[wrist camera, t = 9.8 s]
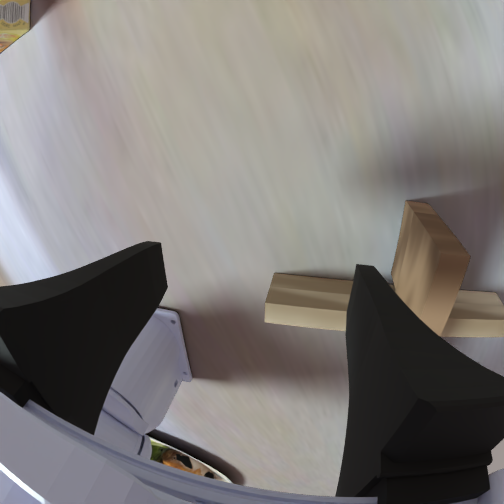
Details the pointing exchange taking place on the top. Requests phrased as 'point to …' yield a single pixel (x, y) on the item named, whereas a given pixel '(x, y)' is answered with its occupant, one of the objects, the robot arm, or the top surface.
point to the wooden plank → (428, 265)
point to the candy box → (13, 21)
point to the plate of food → (183, 461)
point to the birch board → (337, 298)
